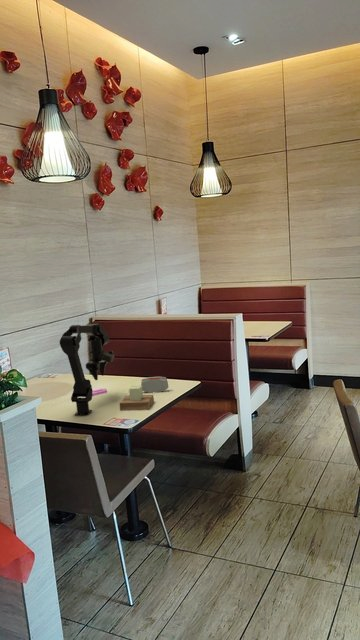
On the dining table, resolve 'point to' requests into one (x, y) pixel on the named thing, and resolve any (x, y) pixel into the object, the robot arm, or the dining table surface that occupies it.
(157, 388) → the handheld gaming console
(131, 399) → the sage cube
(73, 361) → the robot arm
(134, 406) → the walnut block
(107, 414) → the dining table surface
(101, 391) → the bracket
